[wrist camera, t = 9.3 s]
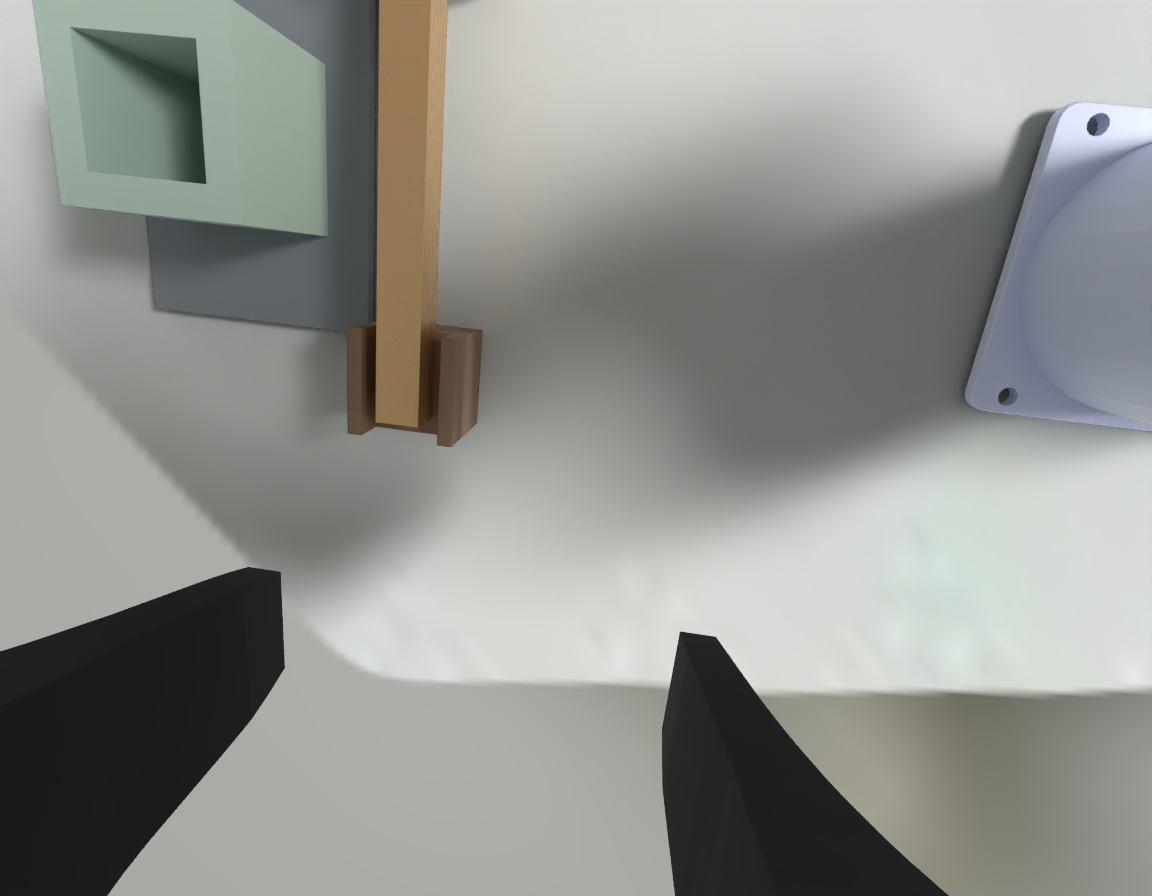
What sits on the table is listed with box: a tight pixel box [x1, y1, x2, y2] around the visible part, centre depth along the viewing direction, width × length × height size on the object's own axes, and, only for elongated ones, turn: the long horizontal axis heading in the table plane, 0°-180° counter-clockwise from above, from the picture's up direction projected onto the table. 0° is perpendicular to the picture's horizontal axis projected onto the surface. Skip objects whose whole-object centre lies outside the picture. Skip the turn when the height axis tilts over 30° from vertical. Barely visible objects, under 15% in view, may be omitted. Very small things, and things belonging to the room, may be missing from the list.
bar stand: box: [347, 322, 482, 447], centre depth 16 cm, size 3×15×3 cm, turn 174°
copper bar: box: [376, 0, 448, 428], centre depth 15 cm, size 1×14×1 cm, turn 174°
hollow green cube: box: [32, 0, 328, 236], centre depth 15 cm, size 4×4×4 cm
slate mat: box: [146, 0, 376, 332], centre depth 17 cm, size 7×10×1 cm
